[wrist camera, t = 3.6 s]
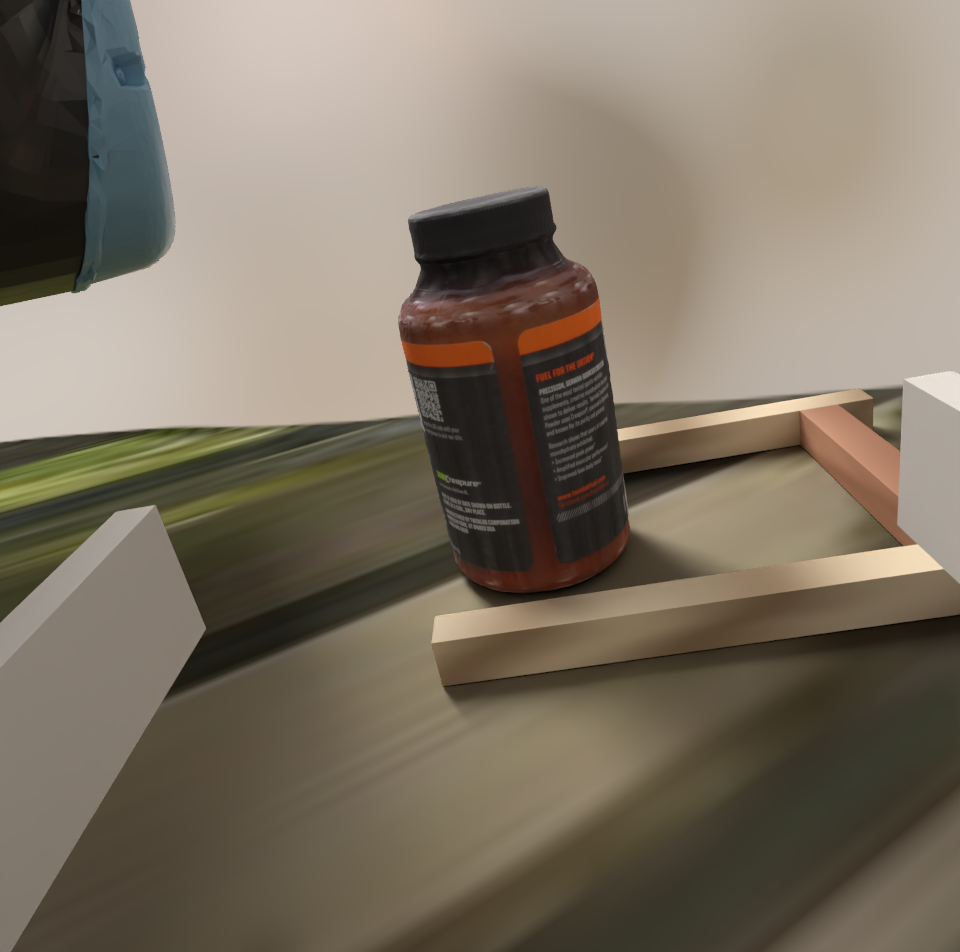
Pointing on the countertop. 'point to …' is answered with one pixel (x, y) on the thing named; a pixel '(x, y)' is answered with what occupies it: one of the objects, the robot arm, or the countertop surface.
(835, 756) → the countertop surface
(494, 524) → the supplement bottle
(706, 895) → the countertop surface
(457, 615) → the guide channel
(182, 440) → the countertop surface
